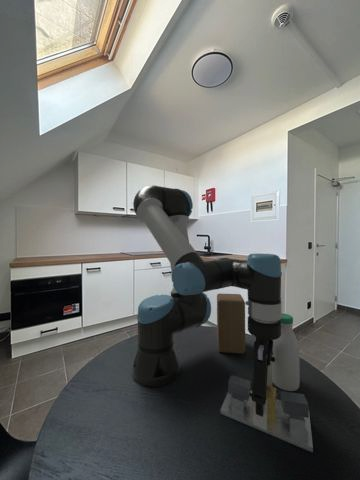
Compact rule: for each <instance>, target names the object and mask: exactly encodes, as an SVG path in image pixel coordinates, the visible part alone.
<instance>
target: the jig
mask: <svg viewBox="0 0 360 480" xmlns="http://www.w3.org/2000/svg"><path fill="white" fill-rule="evenodd" d="M251 383H252V381H251V380H248V379H245V378H242V377H239V376H236V375H232V374H231V375H230V377H229V379H228V383H227V384H228V386H227V387H228V389H227V392H226V396H225V398H224V401H223V404H222V405H221V406H220V407H221V408H220V415H223V416H225V417H227V418H229V419H232V420H234V421H237V422H240V423H241V424H244V425H247V426H248V427H251V428H254V429H255V430H258V431H261V432H263V433H265V434H268V435H271V436H272V437H275V438H277V439H279V440H282V441H284V442H287V443H289V444H292V445H293V446H296V447H298V448H301V449H303V450H306V451H308V452H311V453H314V445H313V435H312V434H313V433H312V428H311V427H312V426H311V419H310V418H311V417H310V416H311V414H310V410H309V409H310V408H309V407H310V406H309V403H308V400H307V398H306V396H305V394H304V393H299V392H297V393H296V392H293V391H286V390H280V399H277V398H276V419H275V421H274V420H271V419H269V418H267V430H264V429H262V428H260V427H257V426H255V425H253V412H252V398H251V397H250V396H249V393H252V386H251V385H252V384H251Z"/></svg>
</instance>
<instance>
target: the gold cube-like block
mask: <svg viewBox="0 0 360 480" xmlns="http://www.w3.org/2000/svg"><path fill="white" fill-rule="evenodd" d="M266 397H267V418H269V419H271V420H274V421H275V419H276V399H277V388H276V387H275V386H272V387H271V386H268V385H267V389H266ZM252 412H253V401H252Z"/></svg>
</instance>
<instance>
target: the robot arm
mask: <svg viewBox="0 0 360 480" xmlns="http://www.w3.org/2000/svg"><path fill="white" fill-rule="evenodd" d="M133 198H134V199H133V203H132V205H133V211H134V213H135V215H136V217H137V219H138V220H139V221H141V222H143V223H144V224H145V226H146V227H147V229H148V230H149V232H150V233H151V234H152V236H153V238H154V240H155V241H156V243H157V244H158V246H159V247H160V249H161V251H162V252H163V254H164V255H165V257H166V259H167V260H168V261H169V264H170V269H171V270H170V271H171V276H170V277H171V282H172V284H173V285H172V286H173V287H172V289H171V291H170V295H169V294H157V295H156V294H155V295H151V296H149V297H145V298H144V299H143V300H142V301H141V302H140V303H139V305H138V309H137V316H136V320H137V340H138V341H137V345H138V346H137V350H136V354H135V358H134V360H133V364H132V376H133V377H132V378H133V379H134V380H135V381H136V382H137V383H139V384H140V385H143V386H146V387H153V388H154V387H161V386H164V385H168V384H170V383H171V382H173V381H174V380H175V379H177V377H178V375H179V373H180V360H179V357H178V354H177V350H176V348H175V335H176V334H180V333H182V332H183V333H184V332H187V331H188V330H192V329H194V328H195V329H197V328H198V327H200V326H202V325H204V324H206V323H207V322H208V321H209V319H210V317H211V313H212V303H211V300H210V297H208V294H206V293H207V292H211V291H215V290H220V289H224V288H229V287H230V288H231V287H234V288H238V289H242V290H247V300H246V301H245V306H247V314H248V316H247V331H248V333H249V334H250V335H251V336H253V337H255V341H254V343H253V348H254V349H253V354H254V355H253V356H254V357H253V370H252V371H253V373H252V386H251V391H252V393H249V396H250V397H251V398H252V401H253V425H255V426H257V427H260V428H262V429H264V430H267V397H266V389H267V385H268V386H271V387H273V382H272V362H275V357H272V355H273V352H272V350H273V340H275V339H278V338H279V337H280V336H281V321H280V319H281V313H282V297H281V296H282V275H283V274H282V273H283V272H282V264H281V258H280V256H279V255H277V254H273V253H250V254H249V255H248V256H247V259H245V260H243V259H236V258H230V257H217V258H214V260H203V258H202V257H201V256H200V255H199V254H198V252H197V251H196V250H195V248H194V247H193V246H192V244H191V243H190V239H189V233H188V228H187V227H188V226H187V222H188V221H189V219H190V218H189V217H190V216H191V214H192V212H193V211H192V209H193V208H194V207H193V205H194V203H193V200H192V197H191V195H190V194H189V193H188V192H187V191H185V190H183V189H180V188H170V187H167V186H161V185H160V186H159V185H155V184H153V185H146V186H144V187H141V189H139V190H138V191H137V193H136V194H135V196H134V197H133ZM205 292H206V293H205ZM271 361H272V362H271Z"/></svg>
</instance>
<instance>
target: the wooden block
mask: <svg viewBox="0 0 360 480" xmlns="http://www.w3.org/2000/svg"><path fill="white" fill-rule="evenodd" d="M245 303H246V301H245V300H244V298H243V295H242V294H241V293H218V294H217V295H216V338H217V340H216V341H217V350H218V352H219V353H227V354H228V353H229V354H230V353H231V354H245V353H246V304H245Z"/></svg>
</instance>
